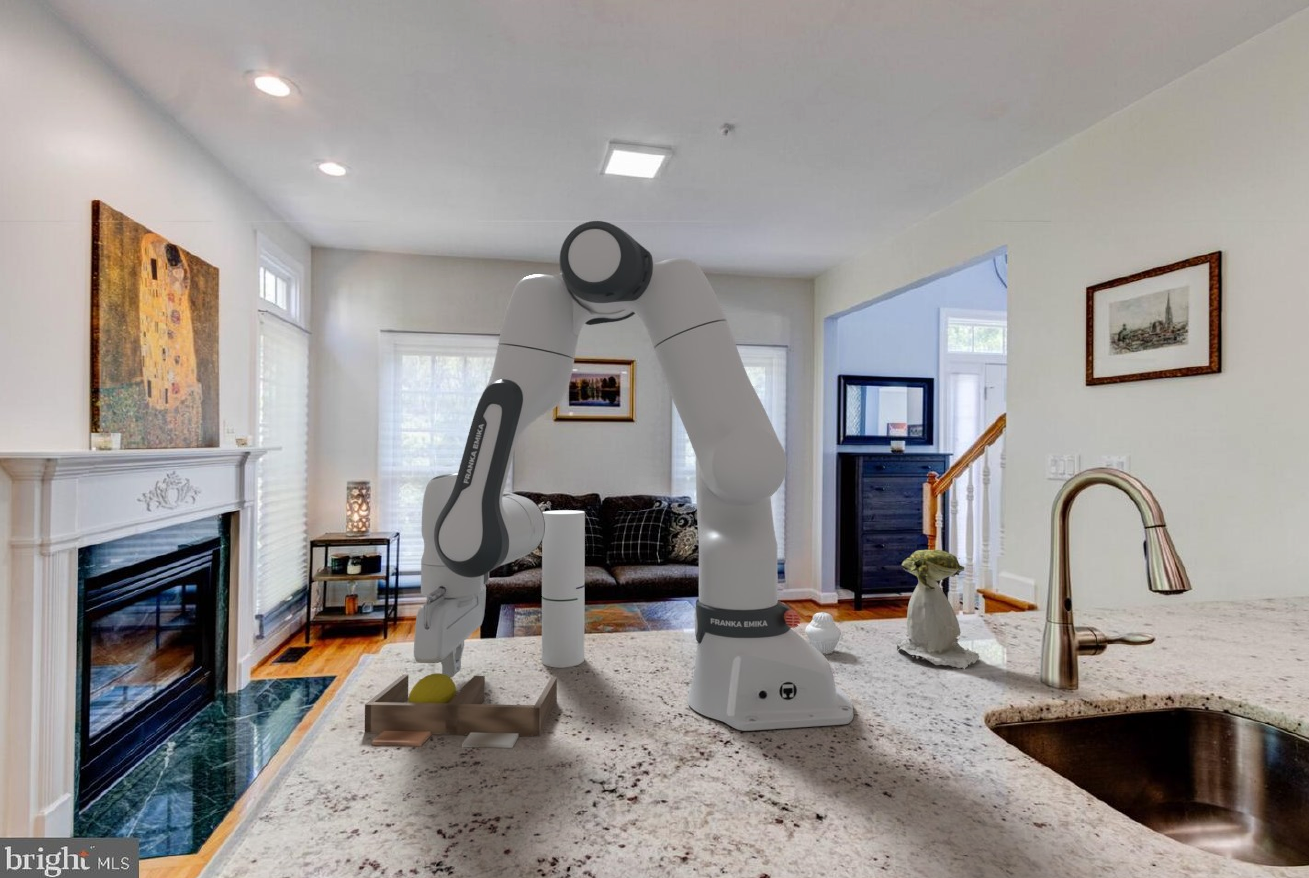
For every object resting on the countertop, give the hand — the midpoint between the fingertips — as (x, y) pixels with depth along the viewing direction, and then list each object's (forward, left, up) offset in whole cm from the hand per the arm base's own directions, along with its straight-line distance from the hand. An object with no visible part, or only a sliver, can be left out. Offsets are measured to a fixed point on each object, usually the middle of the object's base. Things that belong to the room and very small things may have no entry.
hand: (451, 674), depth 94 cm
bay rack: (-6, +11, -2) cm, 13 cm away
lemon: (-2, +6, +1) cm, 6 cm away
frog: (-78, -19, -2) cm, 80 cm away
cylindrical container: (-14, -14, -2) cm, 20 cm away
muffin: (-59, -21, -2) cm, 63 cm away
